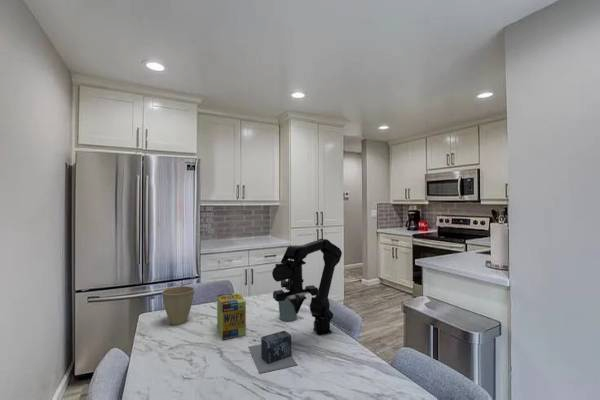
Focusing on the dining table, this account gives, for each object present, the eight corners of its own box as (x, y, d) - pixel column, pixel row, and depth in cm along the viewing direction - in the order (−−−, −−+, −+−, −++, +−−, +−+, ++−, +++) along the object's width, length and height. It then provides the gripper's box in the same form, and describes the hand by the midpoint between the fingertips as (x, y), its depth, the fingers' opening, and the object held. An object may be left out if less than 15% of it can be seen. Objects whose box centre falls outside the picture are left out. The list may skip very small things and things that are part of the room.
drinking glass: (301, 317, 149) (301, 294, 149) (290, 324, 140) (290, 299, 141) (285, 313, 154) (285, 291, 155) (273, 320, 146) (273, 296, 146)
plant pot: (197, 323, 143) (197, 291, 143) (165, 331, 134) (165, 296, 135) (190, 314, 155) (190, 284, 155) (159, 320, 147) (159, 289, 147)
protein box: (222, 340, 124) (222, 304, 124) (217, 327, 138) (216, 294, 138) (246, 336, 128) (246, 301, 129) (238, 323, 142) (238, 291, 143)
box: (292, 355, 111) (267, 364, 105) (284, 349, 115) (260, 357, 110) (292, 335, 111) (267, 342, 105) (284, 329, 116) (260, 336, 110)
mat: (281, 341, 123) (281, 340, 123) (297, 365, 105) (297, 364, 105) (248, 347, 118) (248, 346, 118) (259, 373, 99) (259, 373, 99)
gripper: (308, 269, 132) (309, 303, 132) (268, 274, 125) (269, 310, 125) (318, 275, 122) (319, 312, 122) (276, 281, 115) (277, 320, 115)
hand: (296, 313), depth 121 cm, fingers closed
